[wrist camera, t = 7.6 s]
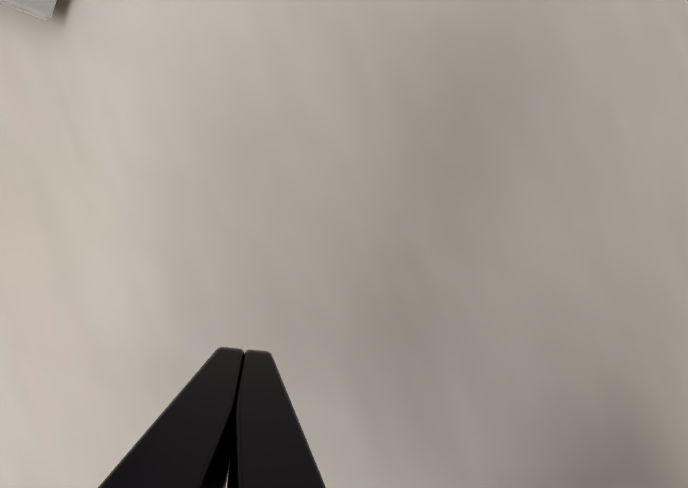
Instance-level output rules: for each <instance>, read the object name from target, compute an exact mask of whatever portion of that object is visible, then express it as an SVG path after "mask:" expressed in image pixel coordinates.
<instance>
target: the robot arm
mask: <svg viewBox="0 0 688 488" xmlns="http://www.w3.org/2000/svg"><path fill="white" fill-rule="evenodd" d="M228 471H229V472H228ZM227 477H228V482H227ZM226 483H227V488H326V487H325V484H324V482H323V480H322V477H321V475H320V472H319V470H318V467H317V465H316V462H315V460H314V457H313V455H312V452H311V450H310V448H309V445H308V443H307V440H306V438H305V435H304V433H303V430H302V428H301V425H300V423H299V421H298V418H297V416H296V413H295V411H294V408H293V406H292V403H291V401H290V398H289V396H288V393H287V391H286V389H285V386H284V384H283V381H282V379H281V376H280V374H279V371H278V369H277V366H276V364H275V362H274V359H273V357H272V355H271V353H269V352H267V351H258V350H247V351H246V352H245V354H244V351H243V350H242V349H238V348H228V347H220V348H218V349H217V350H216V351H215V352H214V353H213V354H212V356H211V357H210V358H209V359H208V360H207V361H206V363H205V364H204V365H203V366H202V367H201V368H200V370H199V371H198V372H197V373H196V374H195V375H194V377H193V378H192V379H191V380H190V381H189V382H188V383H187V385H186V386H185V387H184V388H183V389H182V390H181V392H180V393H179V394H178V395H177V396H176V397H175V399H174V400H173V401H172V402H171V403H170V404H169V406H168V407H167V408H166V409H165V410H164V411H163V413H162V414H161V415H160V416H159V417H158V418H157V420H156V421H155V422H154V423H153V424H152V425H151V427H150V428H149V429H148V430H147V431H146V432H145V434H144V435H143V436H142V437H141V438H140V439H139V440H138V442H137V443H136V444H135V445H134V446H133V447H132V449H131V450H130V451H129V452H128V453H127V454H126V456H125V457H124V458H123V459H122V460H121V461H120V463H119V464H118V465H117V466H116V467H115V468H114V470H113V471H112V472H111V473H110V474H109V475H108V477H107V478H106V479H105V480H104V481H103V482H102V484H101V485H100V486H99V487H98V488H226Z"/></svg>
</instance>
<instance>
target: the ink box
mask: <svg viewBox="0 0 688 488" xmlns="http://www.w3.org/2000/svg"><path fill="white" fill-rule="evenodd" d="M56 1H57V0H0V4H3V5H5V6H8V7H11V8H14V9H16V10H19V11H21V12H24V13H27V14H29V15H32V16H35V17H37V18H40V19H42V20H49V19H51V17H52V15H53V11H54V8H55V4H56Z"/></svg>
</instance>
